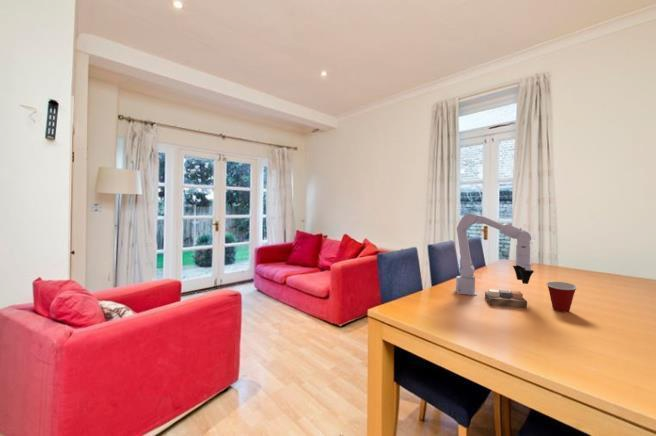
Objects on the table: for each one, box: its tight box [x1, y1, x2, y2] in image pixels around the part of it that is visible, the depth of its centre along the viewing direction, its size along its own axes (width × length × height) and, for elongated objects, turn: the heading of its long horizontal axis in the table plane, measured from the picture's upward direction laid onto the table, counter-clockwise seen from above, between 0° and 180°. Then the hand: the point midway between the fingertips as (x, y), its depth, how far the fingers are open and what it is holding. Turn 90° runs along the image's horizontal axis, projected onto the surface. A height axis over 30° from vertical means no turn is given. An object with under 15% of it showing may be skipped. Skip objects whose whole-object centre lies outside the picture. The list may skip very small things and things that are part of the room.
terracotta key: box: [509, 290, 524, 299], centre depth 133 cm, size 4×4×3 cm
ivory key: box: [487, 289, 500, 297], centre depth 136 cm, size 4×4×3 cm
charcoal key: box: [498, 289, 511, 298], centre depth 134 cm, size 4×4×3 cm
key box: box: [484, 291, 528, 310], centre depth 134 cm, size 15×11×4 cm
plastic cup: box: [546, 281, 578, 313], centre depth 125 cm, size 11×11×12 cm
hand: (522, 281), depth 138 cm, fingers open, 7 cm apart
